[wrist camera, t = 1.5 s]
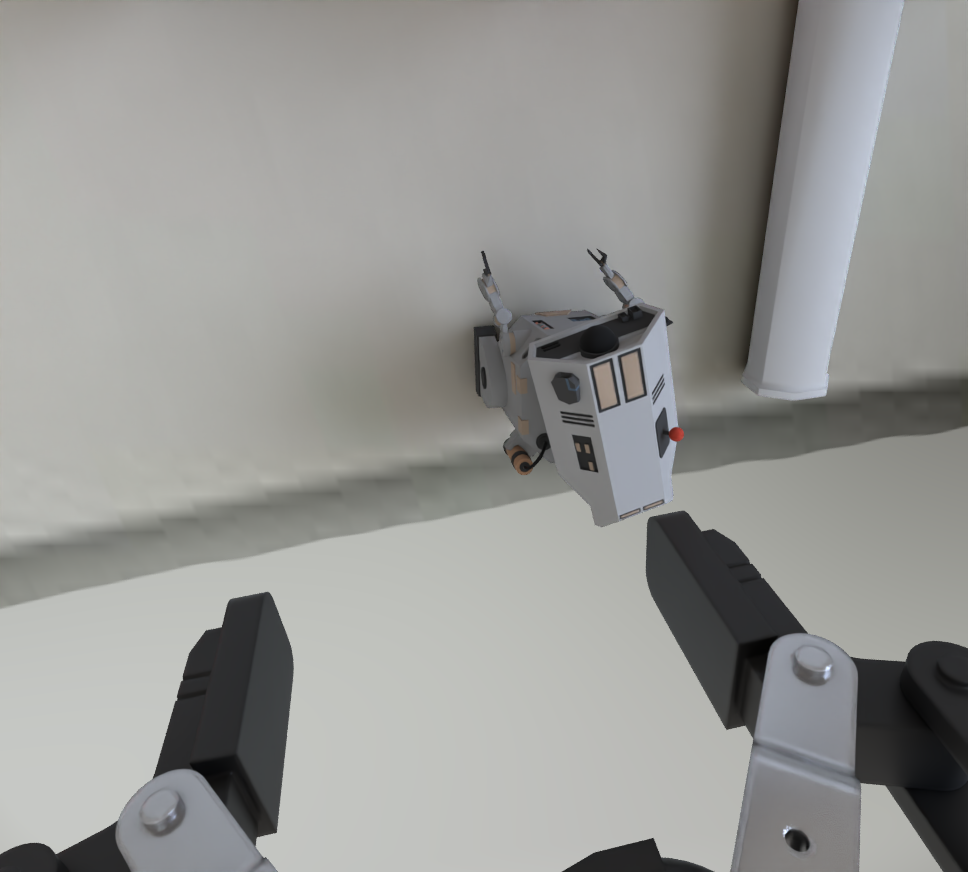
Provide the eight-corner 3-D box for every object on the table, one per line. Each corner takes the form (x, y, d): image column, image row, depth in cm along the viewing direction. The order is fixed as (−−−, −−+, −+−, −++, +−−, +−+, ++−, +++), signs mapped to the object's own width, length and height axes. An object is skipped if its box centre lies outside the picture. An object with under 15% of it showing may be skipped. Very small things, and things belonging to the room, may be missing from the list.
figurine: (619, 220, 37) (754, 298, 25) (605, 396, 43) (709, 534, 30) (465, 229, 36) (523, 317, 23) (472, 409, 42) (521, 558, 29)
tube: (824, -112, 28) (748, 401, 40) (961, -130, 27) (840, 401, 39) (793, -89, 32) (734, 365, 45) (909, -103, 31) (816, 365, 44)
